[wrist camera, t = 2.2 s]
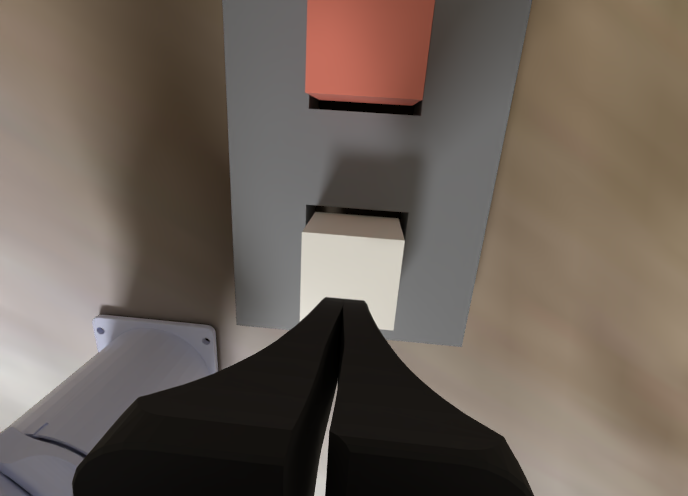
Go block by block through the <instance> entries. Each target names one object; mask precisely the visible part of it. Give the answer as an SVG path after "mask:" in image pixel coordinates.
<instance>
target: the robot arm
mask: <svg viewBox="0 0 688 496" xmlns="http://www.w3.org/2000/svg"><path fill="white" fill-rule="evenodd" d="M92 323H93V328H94V333H95V339H96V344H97V349H98V353H97V354H96V355H95V356H94V357H93V358H91V359H90V360H89V361H88V362H86V363H85V364H84V365H83V366H82V367H80V368H79V369H78V370H77V371H76V372H74V373H73V374H72V375H71V376H69V377H68V378H67V379H66V380H65V381H63V382H62V383H61V384H60V385H59V386H57V387H56V388H55V389H54V390H52V391H51V392H50V393H49V394H48V395H46V396H45V397H44V398H43V399H42V400H40V401H39V402H38V403H37V404H35V405H34V406H33V407H32V408H31V409H29V410H28V411H27V412H26V413H25V414H23V415H22V416H21V417H20V418H18V419H17V420H16V421H15V422H14V423H12V424H11V425H10V426H9V427H7V428H6V429H5V430H3V431H2V432H1V433H0V496H314V492H315V485H316V478H317V471H318V464H319V459H320V454H321V448H322V444H323V440H324V436H325V431H326V427H327V423H328V419H329V415H330V411H331V406H332V402H333V398H334V394H335V390H336V385H337V381H338V390H337V396H336V402H335V407H334V412H333V417H332V422H331V426H330V431H329V446H328V462H327V478H326V493H325V496H534V495H533V492H532V490H531V488H530V485H529V483H528V481H527V479H526V477H525V475H524V473H523V471H522V469H521V467H520V465H519V463H518V461H517V459H516V458H515V456H514V454H513V453H512V451H511V449H510V447H509V446H508V444H507V442H506V440H505V438H504V437H503V436H501V435H500V434H498V433H496V432H495V431H493V430H491V429H489V428H488V427H486V426H484V425H483V424H481V423H479V422H478V421H476V420H474V419H473V418H471V417H469V416H468V415H466V414H464V413H463V412H461V411H460V410H459V409H457V408H456V407H454V406H453V405H452V404H450V403H449V402H447V401H446V400H444V399H443V398H442V397H441V396H439V395H438V394H437V393H435V392H434V391H433V390H432V389H431V388H429V387H428V386H427V385H426V384H425V383H424V382H423V381H421V380H420V379H419V378H418V377H417V376H416V375H415V374H414V373H413V372H412V371H411V370H410V369H409V368H408V367H407V366H406V365H405V364H404V363H403V362H402V361H401V359H400V358H399V357H398V356H397V354H396V353H395V352H394V351H393V349H392V348H391V346H390V345H389V344H388V342H387V341H386V339H385V338H384V336H383V335H382V333H381V331H380V330H379V328H378V327H377V325H376V323H375V321H374V319H373V317H372V315H371V313H370V311H369V308H368V305H367V303H366V302H365V301H364V300H353V299H342V298H331V297H325V298H324V299H322V300H321V301H320V303H319V304H318V305H317V306H316V307H315V308H314V309H313V310H312V311H311V312H310V313H309V314H308V315H307V316H306V317H304V318H303V319H302V320H301V321H300V322H299V323H298V324H297V325H296V326H294V327H293V328H292V329H291V330H290V331H288V332H287V333H286V334H284V335H283V336H282V337H281V338H279V339H278V340H277V341H275V342H274V343H272V344H271V345H269V346H267V347H266V348H264V349H263V350H261V351H259V352H258V353H256V354H254V355H252V356H250V357H248V358H246V359H244V360H242V361H240V362H238V363H236V364H234V365H232V366H230V367H228V368H226V369H223V370H221V371H218V361H217V346H216V332H215V329H214V328H213V327H212V326H210V325H204V324H194V323H183V322H173V321H163V320H153V319H142V318H132V317H122V316H112V315H98V316H96V317H95V318H94V319H93V320H92ZM102 328H103V329H104V330H103V329H102ZM205 338H208V339H209V340H210V341H207V340H206V339H205Z"/></svg>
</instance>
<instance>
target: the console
mask: <svg viewBox="0 0 688 496" xmlns="http://www.w3.org/2000/svg"><path fill="white" fill-rule="evenodd" d="M222 2H223V25H224V48H225V71H226V94H227V116H228V139H229V162H230V185H231V207H232V230H233V253H234V276H235V299H236V321H237V325H242V326H252V327H263V328H273V329H283V330H291V329H292V328H293V327H294V326H296V325H297V324H298V323H299V322H300V287H301V245H302V231H303V230H304V228H305V227H306V225H307V224H308V222H309V221H310V219H311V218H312V216H313V215H314V213H315V205H318V206H330V207H343V208H356V209H369V210H381V211H394V212H402V215H401V223H400V226H401V229H402V233H403V236H404V240H405V243H404V251H403V259H402V267H401V275H400V282H399V290H398V298H397V306H396V314H395V322H394V330H382V329H379V330H380V331H381V333H382V335H383V336H384V338H385V339H386V340H396V341H406V342H417V343H427V344H437V345H448V346H458V347H462V342H463V338H464V333H465V328H466V323H467V318H468V313H469V308H470V303H471V298H472V293H473V288H474V284H475V279H476V274H477V269H478V264H479V259H480V254H481V249H482V244H483V239H484V234H485V230H486V225H487V220H488V215H489V210H490V205H491V200H492V195H493V190H494V185H495V180H496V175H497V171H498V166H499V161H500V156H501V151H502V146H503V141H504V136H505V131H506V126H507V121H508V117H509V112H510V107H511V102H512V97H513V92H514V87H515V82H516V77H517V72H518V67H519V62H520V58H521V53H522V48H523V43H524V38H525V33H526V28H527V23H528V18H529V13H530V8H531V4H532V0H435V5H434V13H433V20H432V28H431V36H430V44H429V52H428V60H427V68H426V76H425V84H424V92H423V100H421V101H419V102H418V103H416V104H415V106H414V115H398V114H383V113H367V112H352V111H336V110H320V109H319V99H317V98H315V97H313V96H311V95H309V94H307V93H305V78H306V37H307V0H222Z"/></svg>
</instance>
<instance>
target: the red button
mask: <svg viewBox="0 0 688 496" xmlns="http://www.w3.org/2000/svg"><path fill="white" fill-rule="evenodd" d="M434 5H435V0H307V37H306V78H305V93H307V94H309V95H311V96H313V97H315V98H317V99H319V100H328V101H344V102H360V103H376V104H392V105H408V106H412V105H414V104H416V103H418V102H419V101H421V100H423V92H424V84H425V76H426V68H427V60H428V52H429V44H430V36H431V28H432V20H433V13H434Z"/></svg>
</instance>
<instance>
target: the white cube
mask: <svg viewBox="0 0 688 496" xmlns="http://www.w3.org/2000/svg"><path fill="white" fill-rule="evenodd" d="M404 243H405V240H404V236H403V233H402V229H401V226H400V222H399V219H398V218H389V217H377V216H364V215H352V214H339V213H326V212H315V213H314V215H313V216H312V218H311V219H310V221H309V222H308V224H307V225H306V227H305V228H304V230H303V231H302V245H301V287H300V321H301V320H302V319H303V318H304V317H306V316H307V315H308V314H309V313H310V312H311V311H312V310H313V309H314V308H315V307H316V306H317V305H318V304H319V303H320V301H321V300H322V299H324V298H325V297H331V298H342V299H353V300H364V301H365V302H366V303H367V305H368V308H369V311H370V313H371V315H372V317H373V319H374V321H375V323H376V325H377V327H378V328H379V329H382V330H394V322H395V314H396V306H397V298H398V290H399V282H400V275H401V267H402V259H403V251H404Z"/></svg>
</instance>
